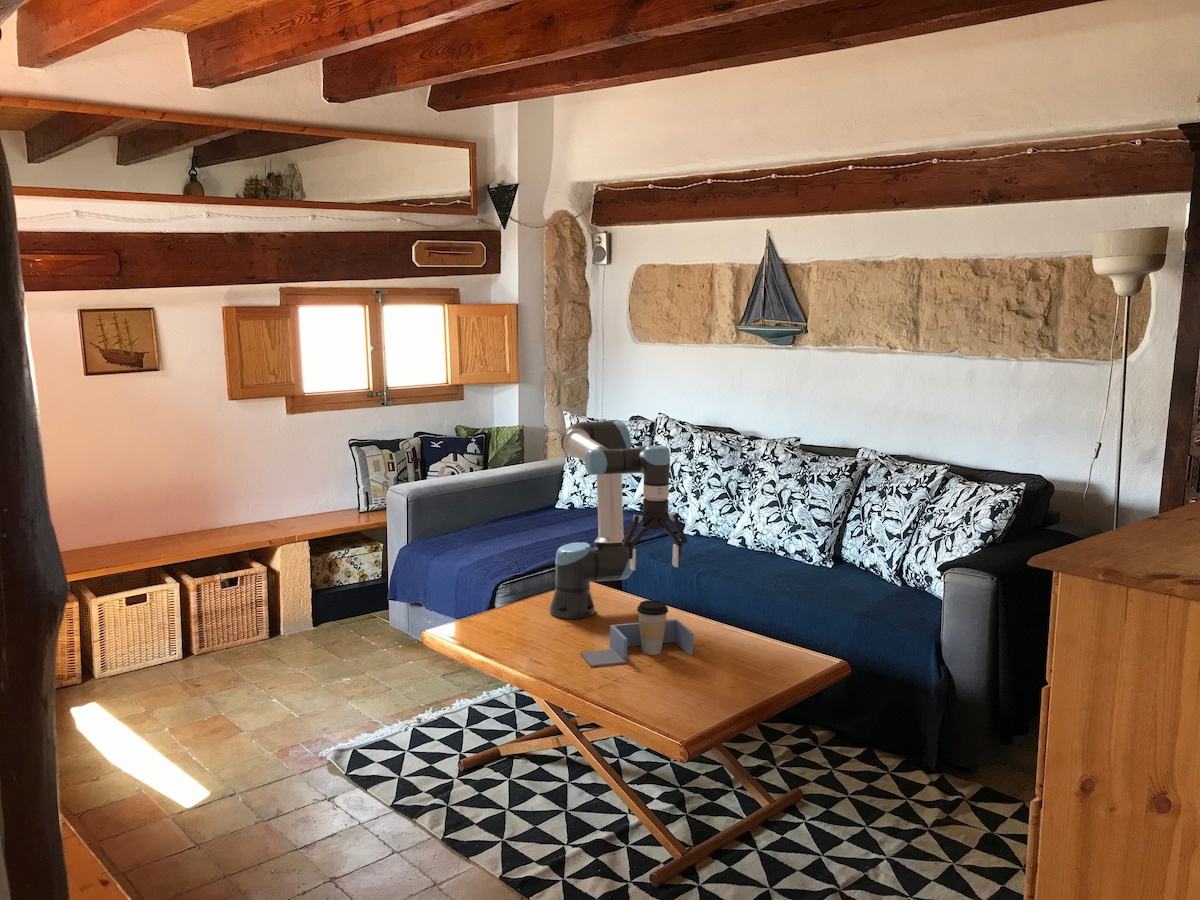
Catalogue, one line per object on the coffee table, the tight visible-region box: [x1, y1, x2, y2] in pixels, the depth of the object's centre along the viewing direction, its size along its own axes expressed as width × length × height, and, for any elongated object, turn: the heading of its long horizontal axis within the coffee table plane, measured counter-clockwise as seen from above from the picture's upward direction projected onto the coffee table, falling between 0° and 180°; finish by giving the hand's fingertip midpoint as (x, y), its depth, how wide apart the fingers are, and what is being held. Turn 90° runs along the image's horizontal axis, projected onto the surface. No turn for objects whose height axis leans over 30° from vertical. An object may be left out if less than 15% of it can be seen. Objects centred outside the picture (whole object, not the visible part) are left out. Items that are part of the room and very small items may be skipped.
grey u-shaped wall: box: [609, 618, 694, 662], centre depth 301 cm, size 13×22×7 cm, turn 108°
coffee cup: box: [636, 599, 669, 656], centre depth 300 cm, size 9×9×15 cm
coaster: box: [579, 648, 628, 668], centre depth 295 cm, size 11×11×1 cm
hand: (653, 567), depth 297 cm, fingers open, 13 cm apart
